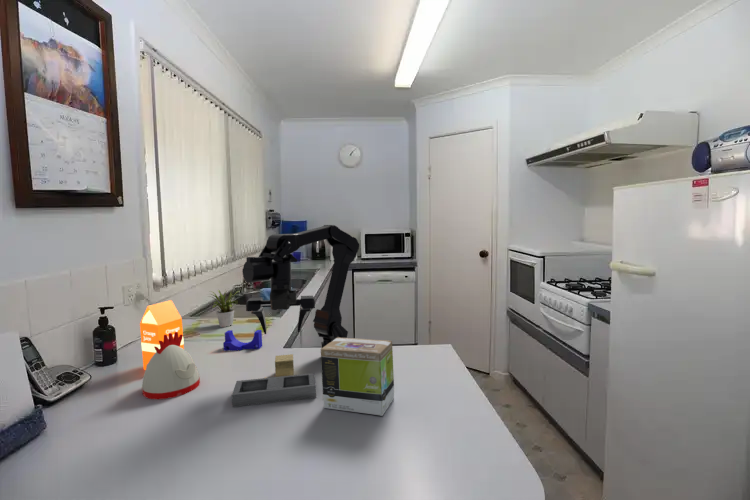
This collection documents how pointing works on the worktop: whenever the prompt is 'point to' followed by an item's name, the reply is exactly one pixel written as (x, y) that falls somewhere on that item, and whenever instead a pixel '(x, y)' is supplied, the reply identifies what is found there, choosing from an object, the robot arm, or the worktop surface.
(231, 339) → the cable clip
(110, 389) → the worktop surface
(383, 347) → the tea box
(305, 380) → the grey flat block
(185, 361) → the kitchen timer
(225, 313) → the house plant
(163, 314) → the orange juice
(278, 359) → the brass cuboid
